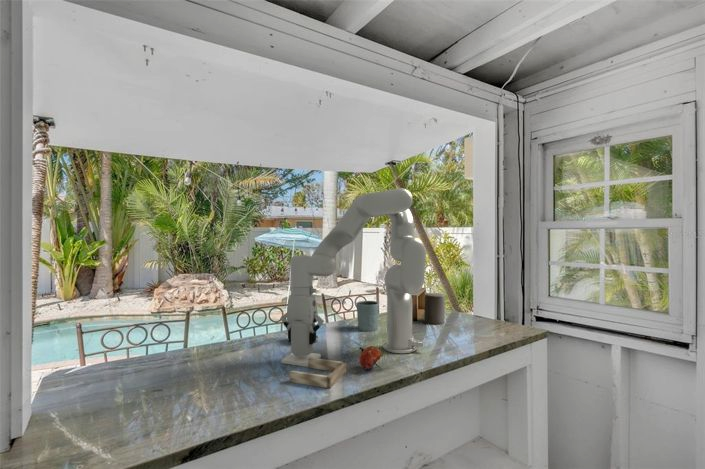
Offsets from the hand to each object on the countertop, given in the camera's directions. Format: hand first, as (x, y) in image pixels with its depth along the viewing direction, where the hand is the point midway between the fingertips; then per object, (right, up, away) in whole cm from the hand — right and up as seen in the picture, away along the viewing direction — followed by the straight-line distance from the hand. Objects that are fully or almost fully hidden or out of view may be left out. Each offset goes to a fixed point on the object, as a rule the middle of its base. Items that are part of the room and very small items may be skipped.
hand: (301, 341), depth 128 cm
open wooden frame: (+7, -6, -14) cm, 17 cm away
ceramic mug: (-2, -6, +21) cm, 22 cm away
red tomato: (+24, -7, -8) cm, 26 cm away
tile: (0, -6, 0) cm, 6 cm away
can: (0, -4, 0) cm, 4 cm away
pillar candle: (+57, -6, +52) cm, 78 cm away
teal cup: (+24, -6, +40) cm, 47 cm away
